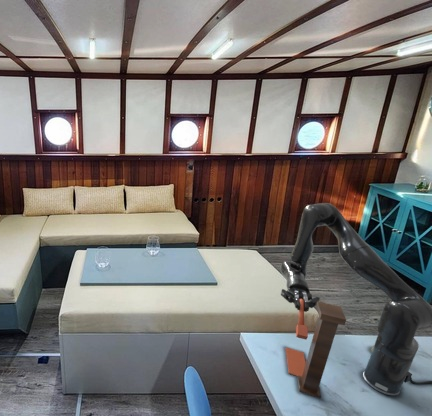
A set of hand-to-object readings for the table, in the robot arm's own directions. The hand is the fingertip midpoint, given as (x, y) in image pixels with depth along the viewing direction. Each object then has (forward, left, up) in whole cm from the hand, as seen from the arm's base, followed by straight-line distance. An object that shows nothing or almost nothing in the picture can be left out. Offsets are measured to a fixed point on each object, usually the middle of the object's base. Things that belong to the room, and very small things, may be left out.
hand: (302, 308), depth 105 cm
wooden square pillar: (+9, +14, -20) cm, 25 cm away
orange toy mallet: (+1, +1, -3) cm, 4 cm away
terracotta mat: (+3, +5, -20) cm, 21 cm away
